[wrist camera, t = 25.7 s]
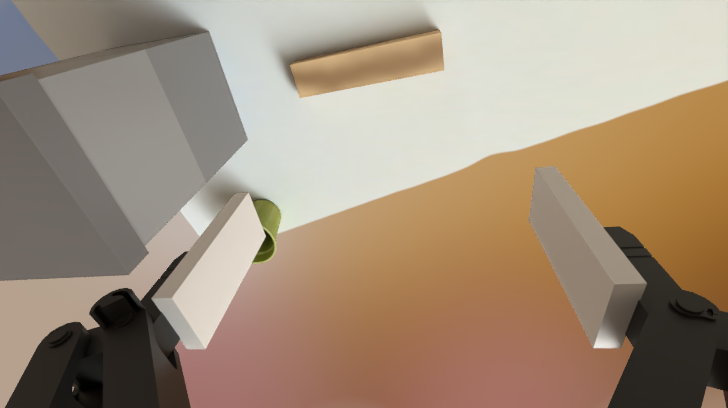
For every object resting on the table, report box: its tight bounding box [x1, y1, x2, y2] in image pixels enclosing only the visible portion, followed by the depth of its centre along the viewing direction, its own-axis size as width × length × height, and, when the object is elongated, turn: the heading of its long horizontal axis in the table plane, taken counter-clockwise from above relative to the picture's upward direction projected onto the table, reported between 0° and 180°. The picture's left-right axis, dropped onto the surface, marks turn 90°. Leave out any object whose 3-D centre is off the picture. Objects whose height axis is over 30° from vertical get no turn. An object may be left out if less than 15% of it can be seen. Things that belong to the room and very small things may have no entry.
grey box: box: [0, 32, 248, 281], centre depth 40 cm, size 17×17×30 cm
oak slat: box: [290, 30, 444, 98], centre depth 47 cm, size 4×20×3 cm, turn 102°
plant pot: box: [252, 200, 281, 264], centre depth 60 cm, size 9×9×9 cm
